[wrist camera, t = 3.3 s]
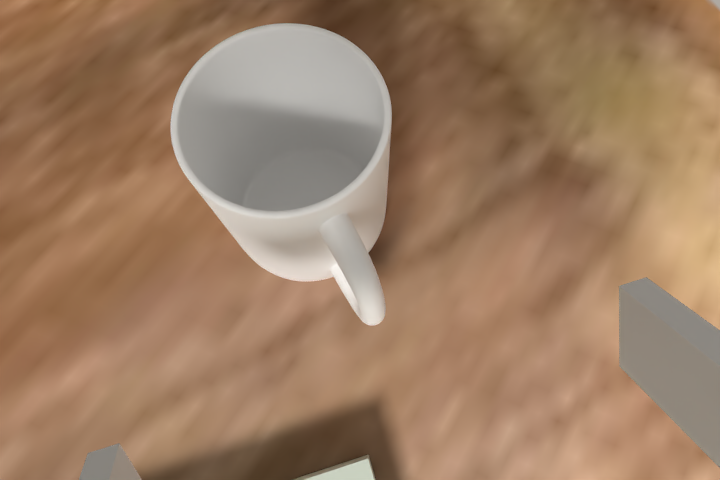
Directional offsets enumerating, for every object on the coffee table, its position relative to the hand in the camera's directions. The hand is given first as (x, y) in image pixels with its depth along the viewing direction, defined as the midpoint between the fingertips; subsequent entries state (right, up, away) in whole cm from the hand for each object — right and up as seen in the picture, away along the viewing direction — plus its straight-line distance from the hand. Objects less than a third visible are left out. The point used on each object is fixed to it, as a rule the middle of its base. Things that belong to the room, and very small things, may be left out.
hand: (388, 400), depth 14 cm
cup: (-3, +4, +15) cm, 16 cm away
